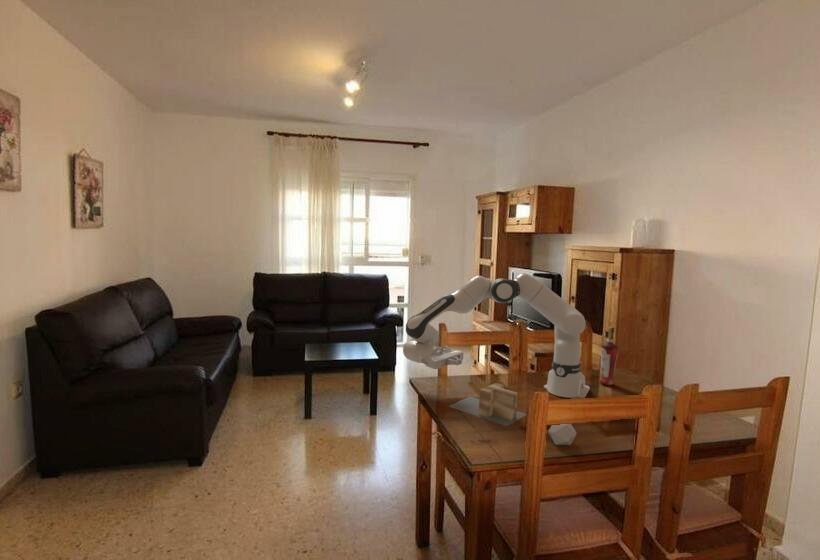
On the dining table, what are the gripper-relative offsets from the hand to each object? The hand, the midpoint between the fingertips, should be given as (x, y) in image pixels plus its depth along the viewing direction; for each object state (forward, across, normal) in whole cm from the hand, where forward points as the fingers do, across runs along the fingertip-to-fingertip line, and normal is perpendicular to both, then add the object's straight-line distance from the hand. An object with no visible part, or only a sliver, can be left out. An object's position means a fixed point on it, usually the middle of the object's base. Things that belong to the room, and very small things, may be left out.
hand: (460, 362), depth 195 cm
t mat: (+14, 0, +17) cm, 22 cm away
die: (+47, -6, +18) cm, 51 cm away
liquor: (+38, +70, +18) cm, 82 cm away
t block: (+20, 0, +17) cm, 26 cm away
